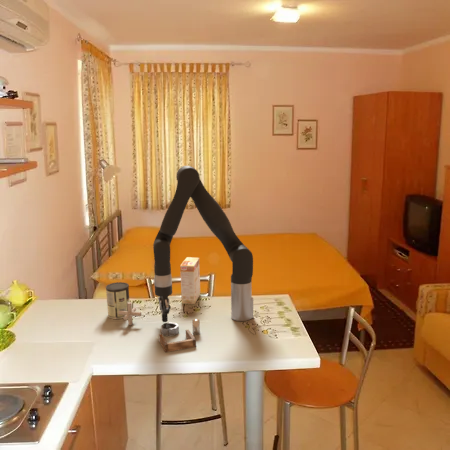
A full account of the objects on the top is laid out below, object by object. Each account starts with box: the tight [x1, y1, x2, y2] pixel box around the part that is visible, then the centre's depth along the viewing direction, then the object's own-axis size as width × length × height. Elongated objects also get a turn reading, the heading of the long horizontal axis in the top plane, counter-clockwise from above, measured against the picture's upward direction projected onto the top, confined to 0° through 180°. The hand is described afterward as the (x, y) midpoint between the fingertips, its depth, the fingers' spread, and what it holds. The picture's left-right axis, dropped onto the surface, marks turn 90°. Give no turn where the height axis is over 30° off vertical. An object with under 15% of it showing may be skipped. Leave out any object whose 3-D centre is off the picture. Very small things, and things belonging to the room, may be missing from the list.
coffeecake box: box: [179, 256, 201, 305], centre depth 239 cm, size 15×7×20 cm, turn 172°
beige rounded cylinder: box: [191, 318, 201, 336], centre depth 200 cm, size 3×3×6 cm
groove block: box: [158, 329, 197, 353], centre depth 191 cm, size 12×10×3 cm
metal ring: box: [160, 321, 180, 337], centre depth 201 cm, size 7×7×3 cm
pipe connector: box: [118, 301, 142, 326], centre depth 209 cm, size 10×10×10 cm
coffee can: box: [105, 281, 130, 320], centre depth 220 cm, size 10×10×14 cm
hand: (164, 321), depth 209 cm, fingers closed
